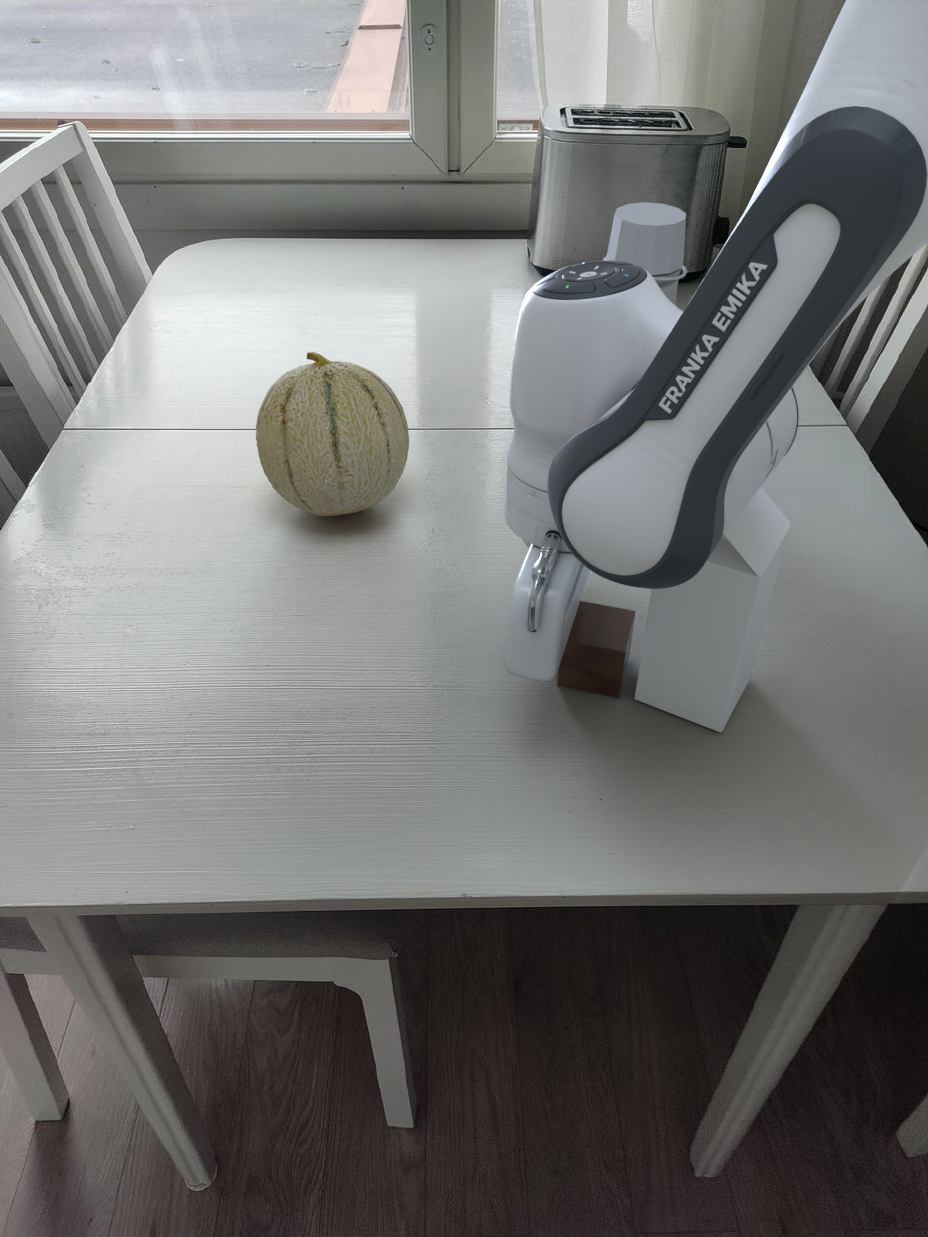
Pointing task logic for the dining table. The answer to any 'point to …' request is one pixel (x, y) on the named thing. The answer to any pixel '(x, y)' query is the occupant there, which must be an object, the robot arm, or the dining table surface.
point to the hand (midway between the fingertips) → (553, 641)
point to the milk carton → (714, 621)
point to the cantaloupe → (332, 437)
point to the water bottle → (651, 242)
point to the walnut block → (597, 649)
